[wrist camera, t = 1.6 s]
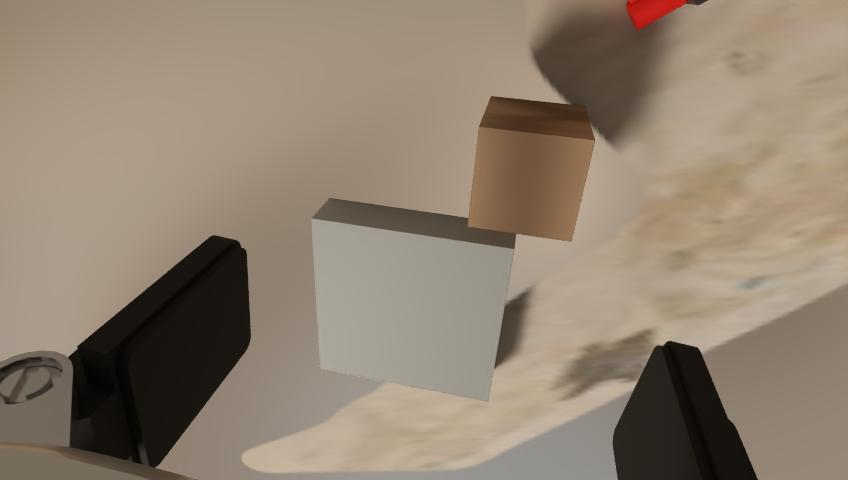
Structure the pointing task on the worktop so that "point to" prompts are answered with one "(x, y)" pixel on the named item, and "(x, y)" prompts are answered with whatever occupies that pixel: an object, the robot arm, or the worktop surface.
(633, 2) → the red and grey piece
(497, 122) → the walnut block
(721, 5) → the worktop surface
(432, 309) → the base slab
